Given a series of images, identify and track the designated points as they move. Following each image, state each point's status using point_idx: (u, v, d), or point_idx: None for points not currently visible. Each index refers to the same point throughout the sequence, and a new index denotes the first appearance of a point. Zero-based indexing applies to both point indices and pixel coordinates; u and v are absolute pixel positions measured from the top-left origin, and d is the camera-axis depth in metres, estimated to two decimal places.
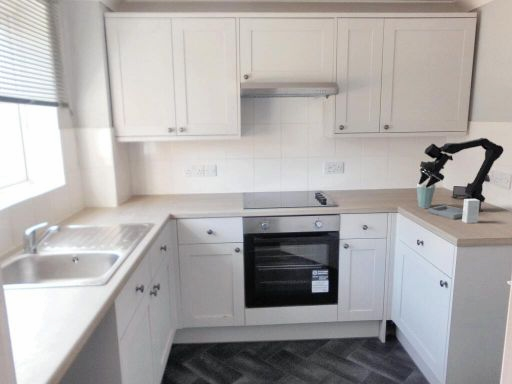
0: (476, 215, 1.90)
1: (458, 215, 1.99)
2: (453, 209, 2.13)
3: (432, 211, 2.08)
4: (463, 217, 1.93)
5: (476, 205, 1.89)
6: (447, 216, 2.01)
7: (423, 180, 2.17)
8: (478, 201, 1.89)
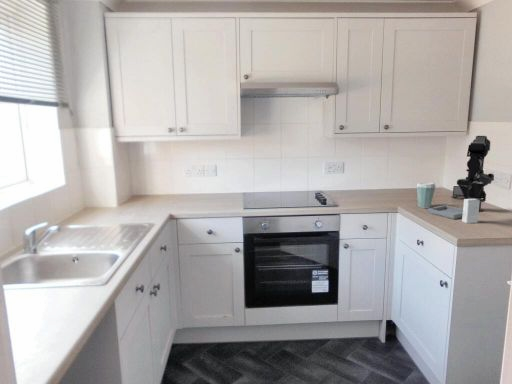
0: (476, 215, 1.90)
1: (458, 215, 1.99)
2: (453, 209, 2.13)
3: (432, 211, 2.08)
4: (463, 217, 1.93)
5: (476, 205, 1.89)
6: (447, 216, 2.01)
7: None
8: (478, 201, 1.89)
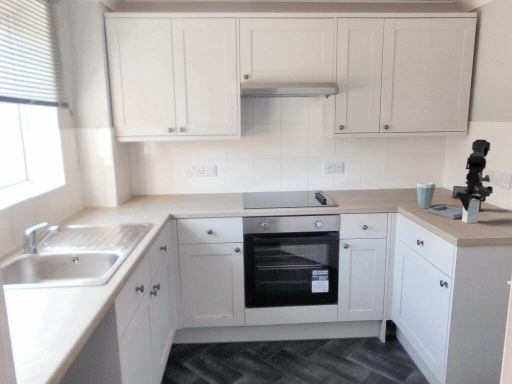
0: (476, 215, 1.90)
1: (458, 215, 1.99)
2: (453, 209, 2.13)
3: (432, 211, 2.08)
4: (463, 217, 1.93)
5: (476, 205, 1.89)
6: (447, 216, 2.01)
7: None
8: (478, 201, 1.89)
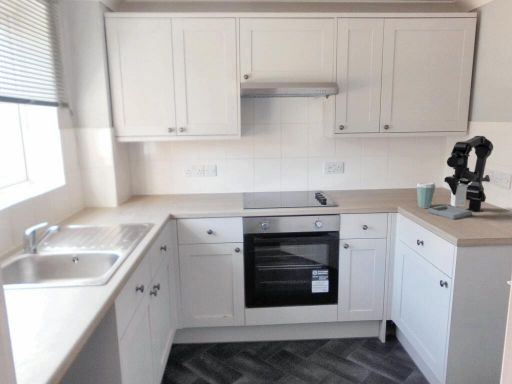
0: (463, 199, 1.99)
1: (458, 215, 1.99)
2: (453, 209, 2.13)
3: (432, 211, 2.08)
4: (451, 201, 2.02)
5: (463, 190, 1.98)
6: (447, 216, 2.01)
7: None
8: (465, 185, 1.98)
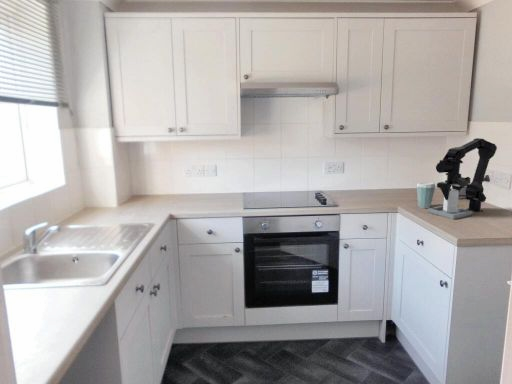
0: (455, 204, 2.05)
1: (458, 215, 1.99)
2: None
3: (432, 211, 2.08)
4: (444, 206, 2.08)
5: (455, 195, 2.04)
6: (447, 216, 2.01)
7: None
8: (457, 191, 2.04)
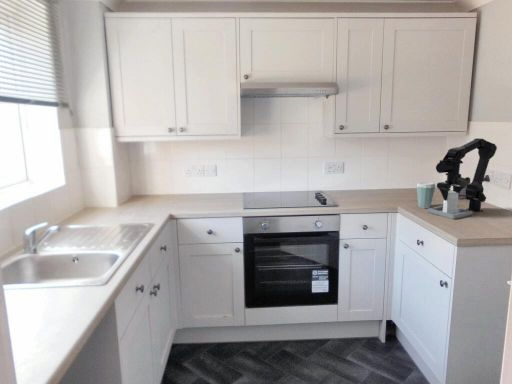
0: (455, 207, 2.05)
1: (458, 215, 1.99)
2: None
3: (432, 211, 2.08)
4: (443, 208, 2.08)
5: (455, 198, 2.04)
6: (447, 216, 2.01)
7: None
8: (457, 193, 2.04)
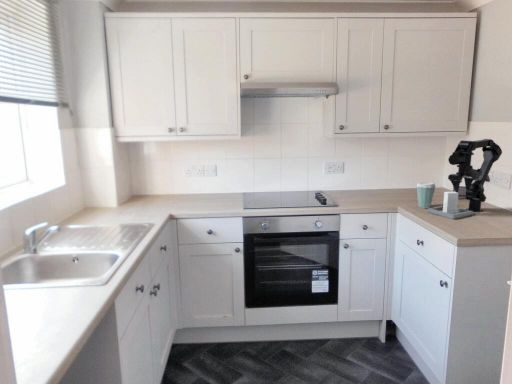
0: (455, 206, 2.05)
1: (458, 215, 1.99)
2: None
3: (432, 211, 2.08)
4: (443, 208, 2.08)
5: (455, 198, 2.04)
6: (447, 216, 2.01)
7: None
8: (457, 193, 2.04)
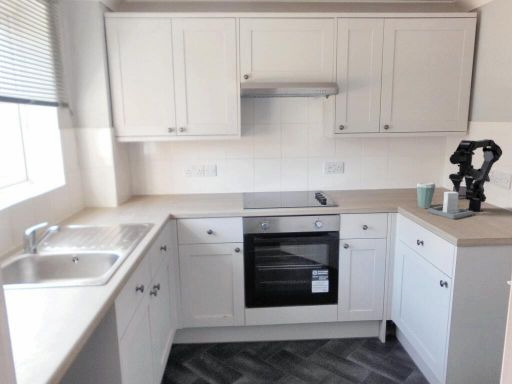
0: (455, 207, 2.05)
1: (458, 215, 1.99)
2: None
3: (432, 211, 2.08)
4: (443, 208, 2.08)
5: (455, 198, 2.04)
6: (447, 216, 2.01)
7: None
8: (457, 193, 2.04)
